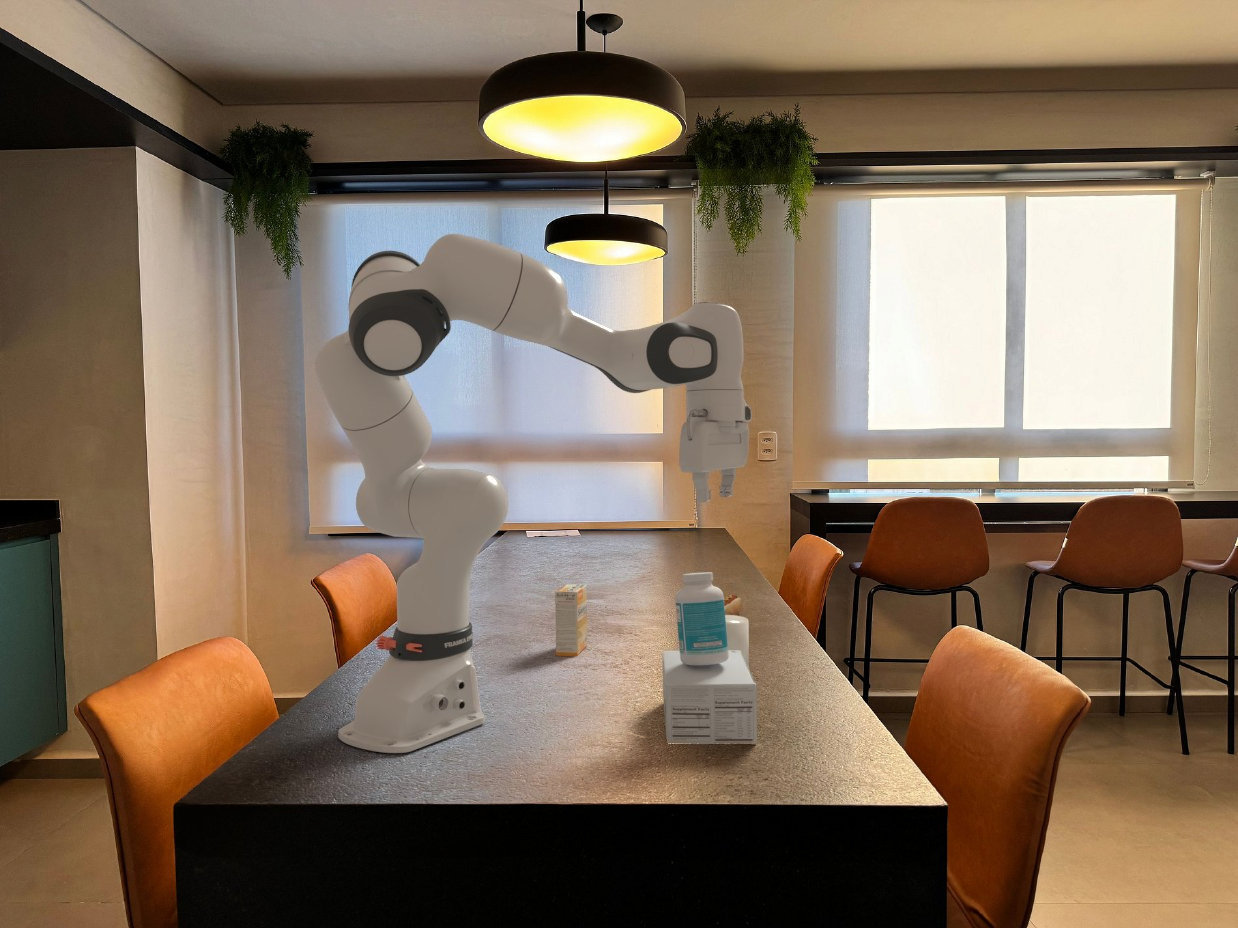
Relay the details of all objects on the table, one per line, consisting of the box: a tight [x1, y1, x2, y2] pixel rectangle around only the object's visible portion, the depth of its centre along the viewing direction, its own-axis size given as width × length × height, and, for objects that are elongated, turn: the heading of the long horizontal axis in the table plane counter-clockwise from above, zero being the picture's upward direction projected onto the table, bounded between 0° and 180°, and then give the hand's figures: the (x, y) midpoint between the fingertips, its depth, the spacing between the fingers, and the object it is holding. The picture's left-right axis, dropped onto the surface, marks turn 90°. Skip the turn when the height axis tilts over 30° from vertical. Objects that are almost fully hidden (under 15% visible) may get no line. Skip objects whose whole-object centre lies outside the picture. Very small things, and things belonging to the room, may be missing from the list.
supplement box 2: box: [662, 650, 758, 744], centre depth 121 cm, size 17×13×9 cm
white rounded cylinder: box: [725, 615, 750, 669], centre depth 149 cm, size 8×8×9 cm
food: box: [724, 594, 743, 616], centre depth 187 cm, size 14×6×5 cm, turn 154°
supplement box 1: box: [554, 583, 588, 657], centre depth 161 cm, size 8×5×13 cm, turn 168°
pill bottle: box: [674, 571, 729, 665], centre depth 121 cm, size 8×7×14 cm
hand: (715, 499), depth 122 cm, fingers open, 8 cm apart
